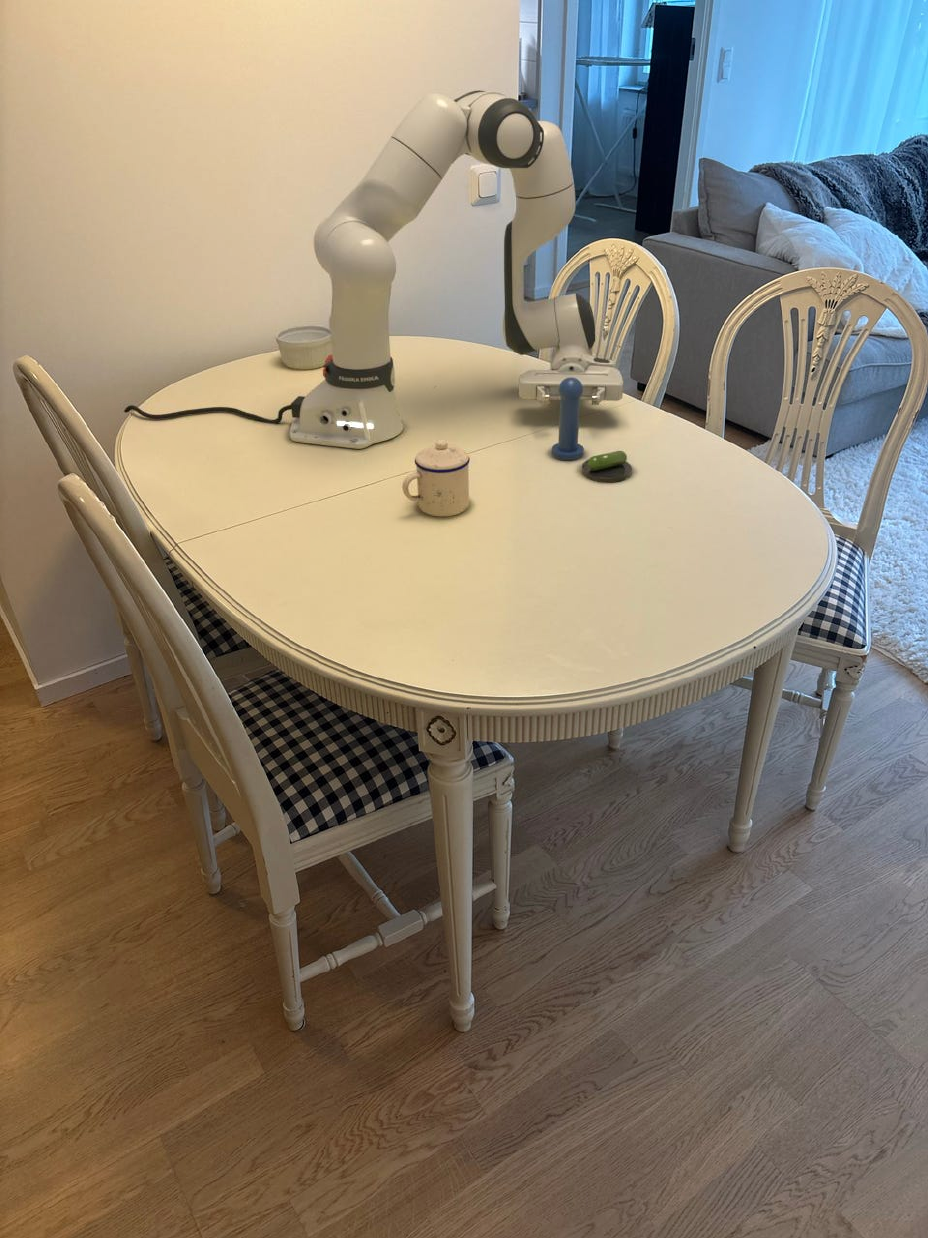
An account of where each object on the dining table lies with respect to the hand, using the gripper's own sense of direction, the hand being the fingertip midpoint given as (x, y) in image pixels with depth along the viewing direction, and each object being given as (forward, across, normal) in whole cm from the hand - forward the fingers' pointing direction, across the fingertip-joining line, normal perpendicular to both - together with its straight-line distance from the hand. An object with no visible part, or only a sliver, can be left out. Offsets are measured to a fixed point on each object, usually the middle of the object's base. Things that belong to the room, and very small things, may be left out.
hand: (570, 400), depth 173 cm
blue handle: (+8, 0, +8) cm, 11 cm away
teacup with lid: (+31, -22, +8) cm, 38 cm away
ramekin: (-40, -62, +8) cm, 75 cm away
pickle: (+14, +7, +8) cm, 18 cm away
